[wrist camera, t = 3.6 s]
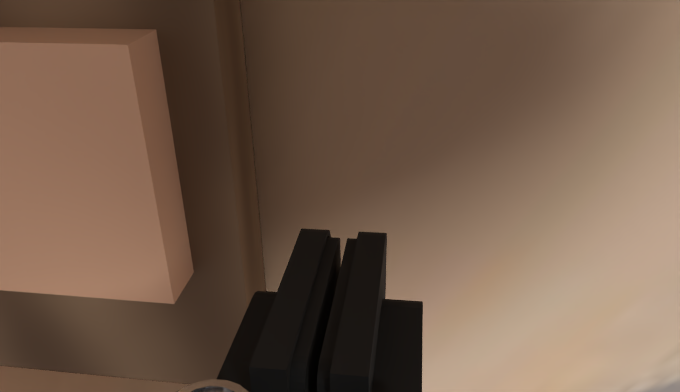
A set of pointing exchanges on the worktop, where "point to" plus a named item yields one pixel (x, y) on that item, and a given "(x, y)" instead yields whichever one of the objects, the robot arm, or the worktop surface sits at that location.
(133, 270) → the tile
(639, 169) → the worktop surface
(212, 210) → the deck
